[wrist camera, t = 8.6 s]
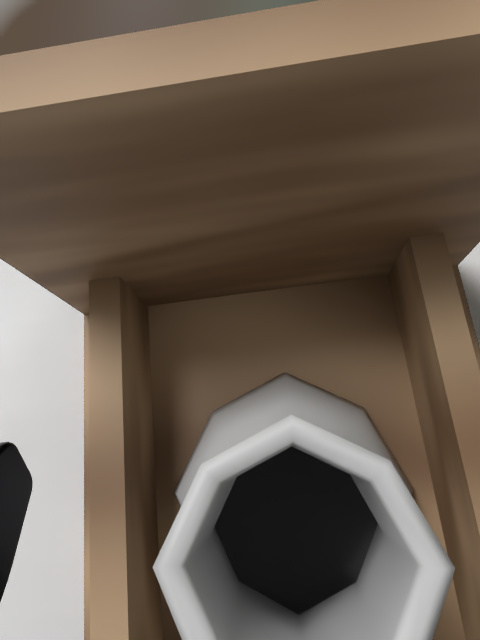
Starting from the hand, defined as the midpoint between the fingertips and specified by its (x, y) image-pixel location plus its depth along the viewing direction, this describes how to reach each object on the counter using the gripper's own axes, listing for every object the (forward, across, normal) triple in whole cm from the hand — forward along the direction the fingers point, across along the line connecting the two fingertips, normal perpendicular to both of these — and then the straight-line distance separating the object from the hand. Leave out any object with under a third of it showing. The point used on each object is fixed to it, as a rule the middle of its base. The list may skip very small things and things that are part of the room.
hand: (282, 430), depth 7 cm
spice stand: (+6, 0, +8) cm, 10 cm away
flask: (+5, 0, +7) cm, 8 cm away
